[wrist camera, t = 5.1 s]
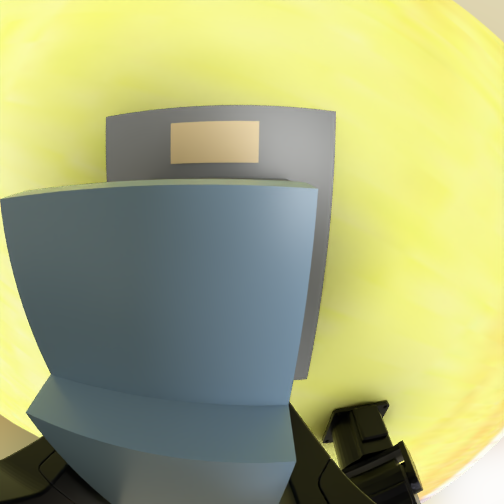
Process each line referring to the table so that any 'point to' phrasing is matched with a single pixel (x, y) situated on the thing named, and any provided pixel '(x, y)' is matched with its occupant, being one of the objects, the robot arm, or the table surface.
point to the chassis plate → (236, 164)
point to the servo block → (167, 331)
